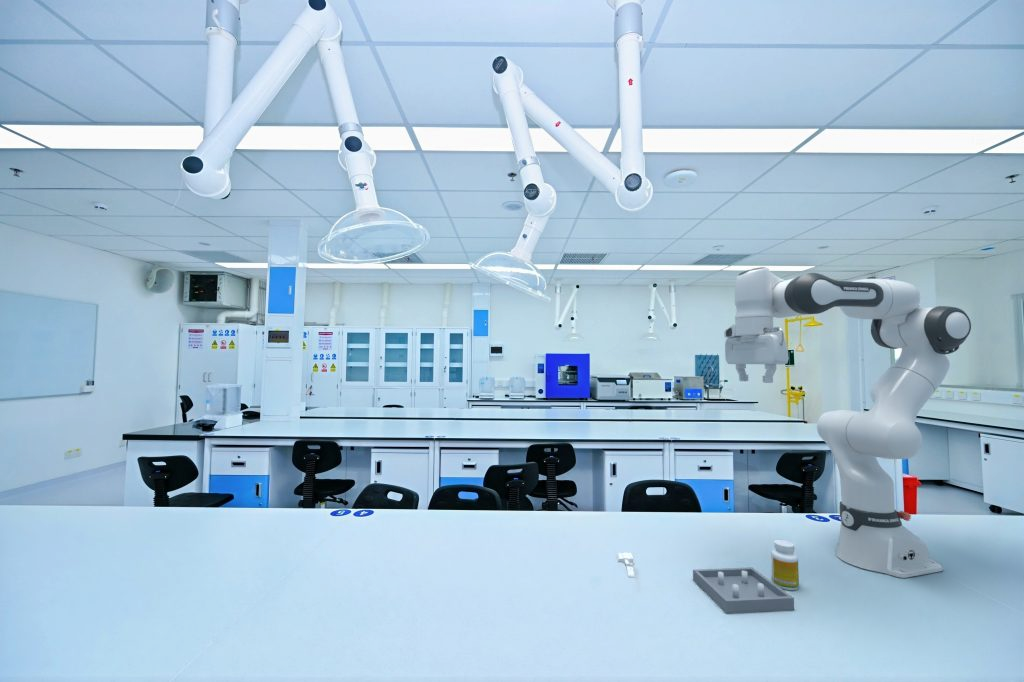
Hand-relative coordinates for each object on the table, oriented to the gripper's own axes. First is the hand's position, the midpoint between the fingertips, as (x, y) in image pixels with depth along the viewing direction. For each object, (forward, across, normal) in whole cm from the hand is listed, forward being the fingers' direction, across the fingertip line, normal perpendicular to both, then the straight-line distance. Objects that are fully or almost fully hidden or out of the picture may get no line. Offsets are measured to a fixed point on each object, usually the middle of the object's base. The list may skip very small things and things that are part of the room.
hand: (755, 382), depth 115 cm
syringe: (+48, 0, +34) cm, 59 cm away
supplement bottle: (+47, -10, +1) cm, 48 cm away
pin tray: (+47, -12, +14) cm, 51 cm away
